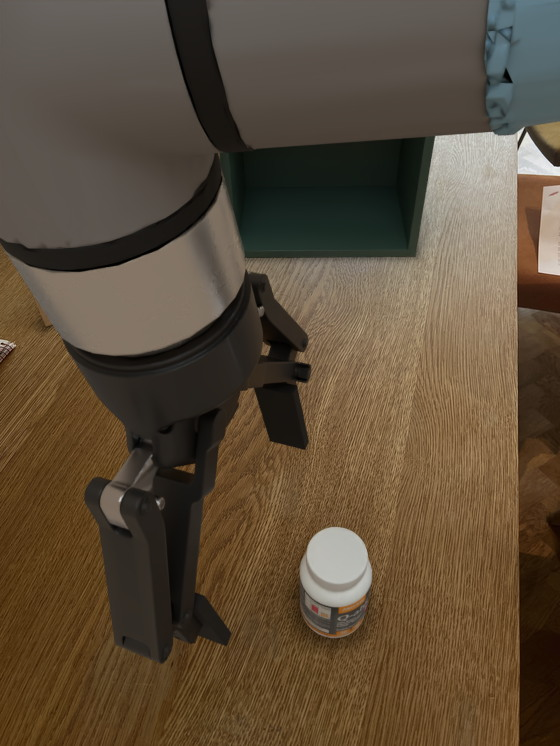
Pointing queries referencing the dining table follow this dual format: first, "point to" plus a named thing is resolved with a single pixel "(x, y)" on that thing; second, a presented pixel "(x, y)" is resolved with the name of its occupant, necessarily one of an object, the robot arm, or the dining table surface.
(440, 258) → the dining table surface
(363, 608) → the pill bottle
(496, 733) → the dining table surface
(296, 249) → the cupboard
